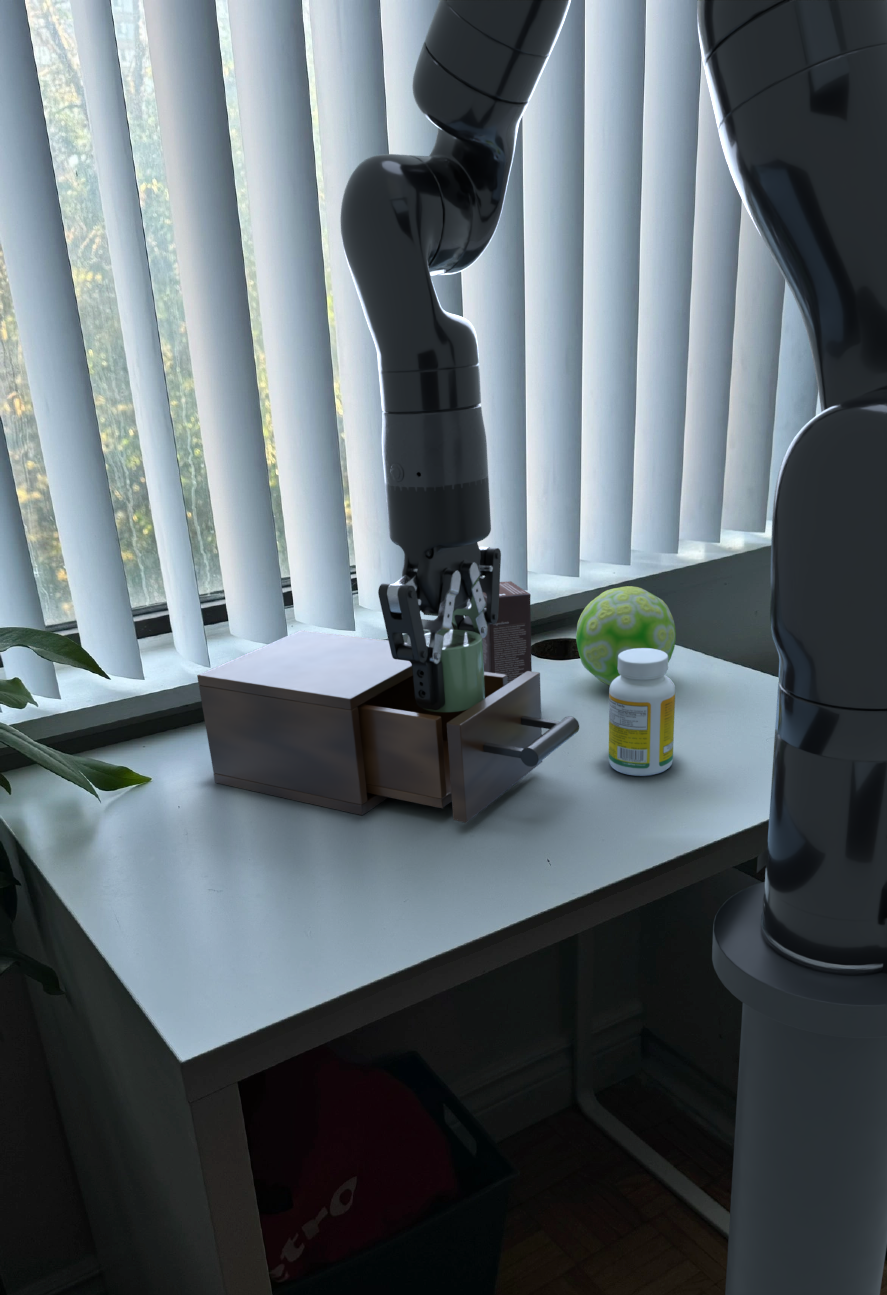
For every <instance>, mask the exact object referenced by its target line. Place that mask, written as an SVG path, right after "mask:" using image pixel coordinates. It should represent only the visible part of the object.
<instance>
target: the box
mask: <svg viewBox="0 0 887 1295" xmlns="http://www.w3.org/2000/svg"><path fill="white" fill-rule="evenodd" d="M483 595H484V599H485V602H486V604H487V595H486V593H484V592H483ZM531 597H532V596H531V593H529V592H528V591H527V590H525V589H523V588H522V587H520V586H519V585H518V584H516V583H514V582H513V581H511V580H509V581H500V588H499V610H498V620H497V622H496V624H489V625H488V626H487V627H488V631H487V635H486V636H485V637H484V638H483V657H484V672H490V673H497V674H505V675H507V684H508V683H510V682H511V681H513V680H514V679H516V678H517V677H519V676H520V675H522V674H523V673H525V672H527V671H532V672H533V668H532V667H533V666H532V621H531V620H532V619H531V618H532V616H531V612H532V609H531V608H532V607H531ZM485 608H486V607H485Z"/></svg>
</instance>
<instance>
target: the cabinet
mask: <svg viewBox="0 0 887 1295" xmlns="http://www.w3.org/2000/svg"><path fill="white" fill-rule="evenodd" d="M404 644H407V642H405V641H404ZM411 676H413V670H412V664H411V662H410V661H405V660H397V659H394V658H393V657H392V654H391V650H390V645H389V640H388V639H387V640H386V639H380V638H379V639H378V638H370V637H363V636H355V635H346V634H337V633H329V632H320V631H312V630H306V629H305V630H303V629H300V630H298V631H295V632H293V633H291V634H289V635H286V636H284V637H281V638H279V639H277V640H275V641H272V642H269V643H268V644H266V645H263V646H260V647H259V648H256V649H254V650H251V651H249V652H247V653H245V654H242V655H240V656H238V657H235V658H233V659H231V660H229V661H227V662H224V663H222V664H219V665H217V666H215V667H212V668H211V669H208V670H206V671H204V672H201V673H199V674H196V677H197V684H198V687H199V688H198V689H199V695H200V701H201V706H202V712H203V713H202V714H203V719H204V725H205V729H206V730H205V731H206V736H207V743H208V748H209V754H210V761H211V767H212V772H213V780H214V783H215V784H220V785H224V786H230V787H232V788H233V787H234V788H238V789H242V790H247V791H252V792H256V793H261V794H264V795H269V796H274V797H279V798H283V799H287V800H291V801H297V802H299V803H300V802H301V803H305V804H310V805H315V806H319V807H323V808H328V809H331V810H337V811H341V812H346V813H351V814H355V815H359V816H364V815H365V814H367V813H368V812H370V811H371V810H372V809H374V808H375V807H377V806H378V805H380V804H381V803H383V802H384V801H386V800H387V799H388V798H389V797H385V796H380V795H376V794H371V793H367V790H366V781H365V771H364V762H363V752H362V743H361V733H360V724H359V714H358V707H357V706H359V705H361V704H362V703H364V702H366V701H368V700H370V699H371V698H373V697H375V696H377V695H379V694H380V693H382V692H384V691H386V690H388V689H389V688H391V687H393V686H395V685H397V684H398V683H400V682H402V681H404V680H406V679H407V678H409V677H411Z"/></svg>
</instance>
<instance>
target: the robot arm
mask: <svg viewBox="0 0 887 1295" xmlns="http://www.w3.org/2000/svg"><path fill="white" fill-rule="evenodd" d="M571 1H572V0H438V3H437V5H436V9H435V10H434V14H433V15H432V20H431V22H430V25H429V27H428V30H427V33H426V36H425V39H424V42H423V43H422V46H421V49H420V52H419V55H418V59H417V61H416V64H415V68H414V72H413V76H412V85H411V86H412V95H413V98H414V101H415V103H416V105H417V107H418V109H419V111H420V112H421V113H422V115H423V116H424V117H425V118H426V119H427V120H429V121H430V122H431V123H432V124H433V125H434V126H435V127H437V133H436V138H435V141H434V145H433V148H432V150H431V151H430V153H429V155H412V154H411V155H410V154H409V155H408V154H397V153H381V154H376V155H372V156H370V157H367V158H366V159H364V160H363V161H361V162H360V163H359V164H358V165H357V166H356V167H355V169H354V170H353V171H352V172H351V174H350V176H349V178H348V180H347V182H346V185H345V188H344V191H343V196H342V200H341V206H340V221H339V222H340V235H341V242H342V247H343V251H344V255H345V259H346V262H347V266H348V268H349V271H350V274H351V277H352V281H353V284H354V287H355V289H356V293H357V297H358V299H359V302H360V304H361V308H362V312H363V315H364V317H365V320H366V323H367V326H368V329H369V331H370V334H371V337H372V340H373V342H374V346H375V349H376V350H375V351H376V354H377V355H376V356H377V370H378V380H379V391H380V402H381V411H382V412H381V417H382V421H381V422H382V425H381V427H382V428H381V454H382V466H383V478H384V489H385V501H386V512H387V521H388V522H387V523H388V532H389V533H388V534H389V539H390V540H391V542H392V543H393V544H394V545H396V546H399V547H400V549H401V550H402V551H403V554H404V555H403V556H404V558H403V566H402V570H401V578H399V579H398V580H397V581H396V582H395V583H388V582H387V583H386V582H382V583H380V585H379V587H378V591H377V593H378V599H379V604H380V608H381V612H382V617H383V618H382V619H383V622H384V627H385V631H386V635H387V640H388V641H389V645H390V650H391V654H392V657H393V658H394V659H397V660H405V661H410V662H411V664H412V670H413V682H414V690H415V691H414V694H415V699H416V703H417V705H418V706H419V707H420V708H424V709H430V710H438V709H440V708H442V707H443V706H444V705H445V694H444V680H443V666H442V662H441V661H440V660H441V655H442V648H443V641H444V635H445V634H446V633H448V632H449V631H450V630H467V631H473V632H476V633H478V634H480V635H481V636H482V643H483V638H484V637H485V636H486V635H487V631H488V627H487V626H488V625H489V624H496V622H497V620H498V610H499V588H500V582H501V566H502V565H501V564H502V551H501V549H500V548H499V547H489V546H479V544H478V543H479V542H482V541H483V540H485V539H487V538H488V537H489V535H490V534H491V531H492V520H491V502H490V483H489V482H490V481H489V464H488V463H489V460H488V442H487V432H486V427H485V423H484V416H483V410H482V405H481V403H482V395H481V377H480V376H481V374H480V359H479V358H480V357H479V356H480V355H479V345H478V344H479V343H478V337H477V332H476V329H475V327H474V325H473V324H472V323H471V322H470V321H469V320H468V318H465V317H463V316H460V315H458V314H454V313H450V312H448V311H446V310H444V309H443V307H442V306H441V303H440V301H439V298H438V294H437V292H436V289H435V286H434V282H433V279H432V276H445V275H455V274H457V273H461V272H463V271H465V270H466V269H468V268H470V267H471V266H472V265H473V264H474V263H475V262H477V260H478V259H479V258H480V257H481V256H482V255H483V253H484V252H485V250H486V249H487V248H488V246H489V245H490V243H491V241H492V239H493V237H494V236H495V233H496V231H497V228H498V226H499V222H500V219H501V216H502V212H503V208H504V204H505V200H506V193H507V189H508V184H509V179H510V174H511V170H512V165H513V162H514V156H515V150H516V143H517V137H518V131H519V126H520V122H521V120H522V117H523V115H524V113H525V111H526V110H527V107H528V105H529V103H530V101H531V98H532V97H533V94H534V92H535V90H536V88H537V85H538V83H539V80H540V78H541V76H542V74H543V71H544V69H545V67H546V65H547V63H548V60H549V58H550V56H551V54H552V51H553V50H554V47H555V45H556V43H557V41H558V38H559V36H560V33H561V31H562V28H563V25H564V23H565V20H566V17H567V14H568V11H569V9H570V5H571ZM696 9H697V10H696V15H697V17H696V18H697V32H698V40H699V45H700V46H699V47H700V52H701V58H702V64H703V68H704V72H705V77H706V81H707V86H708V91H709V94H710V99H711V103H712V107H713V108H712V109H713V113H714V116H715V122H716V126H717V131H718V135H719V136H718V137H719V139H720V144H721V147H722V151H723V155H724V158H725V161H726V164H727V165H728V169H729V173H730V175H731V177H732V180H733V182H734V185H735V187H736V189H737V191H738V194H739V196H740V198H741V200H742V202H743V204H744V207H745V209H746V211H747V213H748V214H749V216H750V218H751V220H752V222H753V224H754V226H755V228H756V230H757V232H758V233H759V235H760V237H761V239H762V241H763V243H764V244H765V247H766V248H767V250H768V251H769V253H770V255H771V257H772V259H773V261H774V263H775V264H776V266H777V268H778V270H779V272H780V273H781V275H782V277H783V279H784V280H785V282H786V284H787V287H788V288H789V291H790V292H791V295H792V297H793V298H794V301H795V304H796V306H797V308H798V310H799V313H800V315H801V318H802V322H803V326H804V329H805V331H806V336H807V339H808V343H809V344H808V345H809V348H810V351H811V357H812V363H813V367H814V373H815V378H816V385H817V386H816V387H817V391H818V397H819V404H820V412H819V413H818V414H817V415H815V416H814V417H812V418H811V419H810V420H809V421H807V423H806V424H804V425H803V426H802V427H801V429H800V430H799V431H798V432H797V433H796V435H795V436H794V437H793V439H792V440H791V442H790V443H789V445H788V447H787V449H786V451H785V453H784V455H783V458H782V460H781V464H780V466H779V470H778V474H777V479H776V483H775V489H774V496H773V503H772V518H771V519H772V520H771V538H770V540H771V541H770V542H771V543H770V544H771V545H770V548H771V549H770V583H769V584H770V589H769V590H770V592H769V594H770V595H769V596H770V597H769V620H770V632H771V636H772V640H773V643H774V645H775V649H776V651H777V654H778V661H779V662H778V683H777V694H776V696H777V697H776V710H775V711H776V712H775V713H776V714H775V726H774V728H775V729H774V739H773V754H772V769H771V770H772V771H771V786H770V799H769V800H770V801H769V814H768V832H767V845H766V849H764V850H763V851H762V852H761V853H760V854H758V856H757V863H756V864H757V865H756V873H759V872H760V871H761V870H762V869H763V868H764V867H765V874H764V877H765V879H764V882H765V890H764V898H763V912H762V915H761V926H760V929H761V934H762V936H763V939H764V940H765V942H766V943H767V944H768V946H769V947H770V948H771V949H773V950H774V951H775V952H776V953H777V954H779V955H780V956H782V957H783V958H785V959H787V960H789V961H791V962H793V963H795V964H798V965H800V966H803V967H806V968H809V969H812V970H816V971H820V972H825V973H830V974H838V975H870V974H877V973H885V974H887V0H697V1H696ZM483 592H484V593H486V595H487V604H486V602H485V599H484V595H483ZM485 607H486V608H485ZM421 613H422V614H423V616H431V617H433V616H435V617H436V618H435V619H424V618H422V616H421V615H422V614H421ZM425 631H428V632H429V633H431V634H430V642H429V647H428V646H427V645H426V640H425V635H424V634H425ZM404 635H407V640H406V643H407V644H404V642H405V639H404ZM483 660H484V657H483Z"/></svg>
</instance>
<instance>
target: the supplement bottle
mask: <svg viewBox="0 0 887 1295" xmlns="http://www.w3.org/2000/svg"><path fill="white" fill-rule="evenodd" d="M617 669H618V672H619V674H620V676H618V677H617V678H615V679H614V680H613V681H612V683H611V685H609V689H608V763H609V765H610V767H611V768H612V769H613V770H614V771H616V772H618V773H621V774H623V775H628V776H636V777H646V776H654V775H658V774H661V773H663V772H665V771H666V770H667V769H670V767H672V764H673V762H674V738H675V737H674V736H675V733H674V732H675V709H676V708H675V707H676V686H675V683H674V682H673V681H672V679H671V678H670V677H669V676H667V675H666V674H667V673H668V670H669V662H668V655H667V654H666V653H665V652H663V651H661V650H657V649H651V648H636V649H630V650H626V651H623V652H621V653H620V654H619V655H618V668H617Z"/></svg>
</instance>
